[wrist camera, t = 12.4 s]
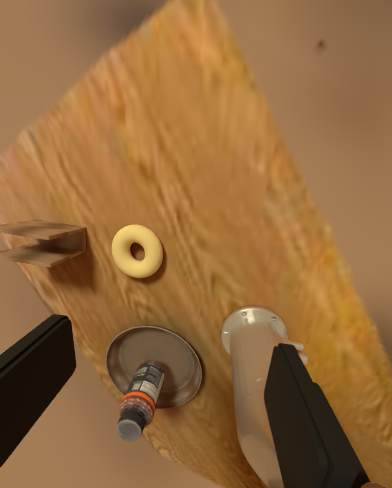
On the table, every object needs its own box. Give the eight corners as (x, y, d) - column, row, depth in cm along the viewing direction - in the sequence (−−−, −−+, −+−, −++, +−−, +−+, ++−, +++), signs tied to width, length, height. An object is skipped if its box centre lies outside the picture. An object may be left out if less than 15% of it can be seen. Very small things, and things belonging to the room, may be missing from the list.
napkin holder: (85, 227, 38) (48, 236, 30) (86, 252, 39) (50, 267, 31) (37, 219, 39) (-13, 226, 30) (38, 244, 40) (-9, 257, 32)
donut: (130, 270, 42) (171, 267, 39) (118, 283, 38) (163, 280, 35) (113, 225, 38) (157, 218, 35) (98, 234, 34) (146, 227, 31)
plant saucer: (94, 345, 45) (85, 356, 42) (163, 300, 40) (158, 309, 37) (151, 407, 48) (146, 422, 45) (221, 371, 43) (222, 386, 40)
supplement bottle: (151, 388, 42) (128, 454, 30) (132, 368, 41) (101, 427, 30) (172, 374, 40) (155, 436, 29) (152, 353, 40) (127, 408, 29)
